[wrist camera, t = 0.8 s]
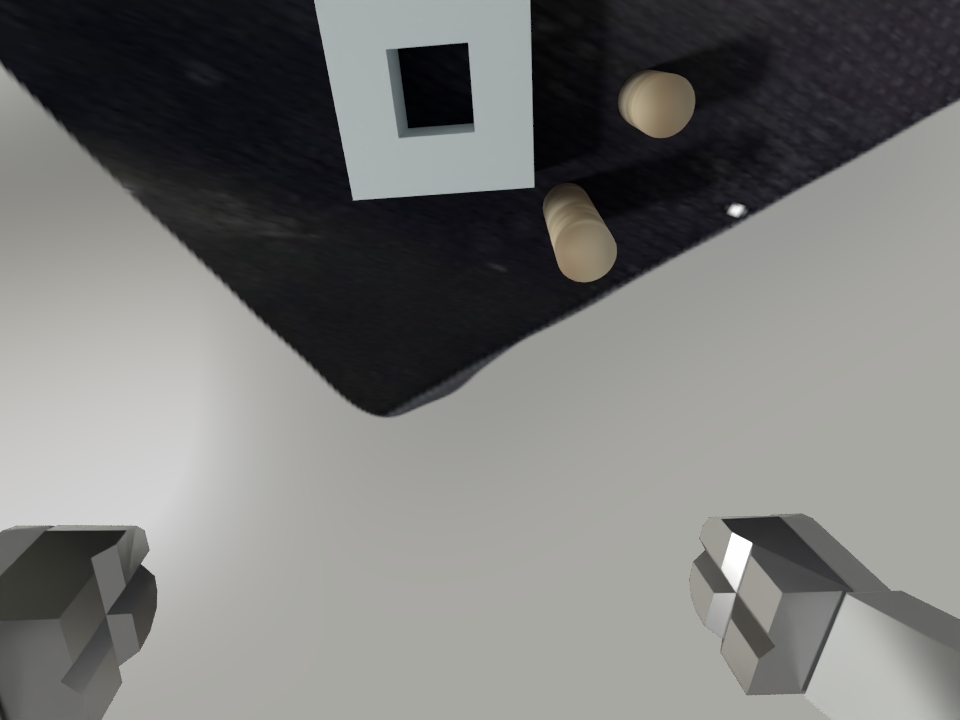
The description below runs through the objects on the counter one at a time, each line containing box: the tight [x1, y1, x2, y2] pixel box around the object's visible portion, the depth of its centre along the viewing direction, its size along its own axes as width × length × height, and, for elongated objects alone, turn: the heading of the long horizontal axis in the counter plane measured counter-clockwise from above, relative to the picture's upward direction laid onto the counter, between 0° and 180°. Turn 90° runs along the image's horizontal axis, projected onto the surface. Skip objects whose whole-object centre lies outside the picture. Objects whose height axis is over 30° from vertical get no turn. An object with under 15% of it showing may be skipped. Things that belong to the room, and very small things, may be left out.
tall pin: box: [543, 183, 617, 282], centre depth 41 cm, size 4×4×12 cm
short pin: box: [618, 70, 695, 138], centre depth 39 cm, size 4×4×6 cm
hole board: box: [314, 0, 534, 200], centre depth 39 cm, size 14×14×5 cm
